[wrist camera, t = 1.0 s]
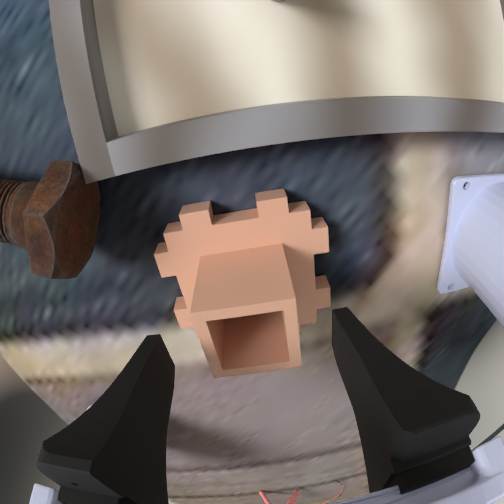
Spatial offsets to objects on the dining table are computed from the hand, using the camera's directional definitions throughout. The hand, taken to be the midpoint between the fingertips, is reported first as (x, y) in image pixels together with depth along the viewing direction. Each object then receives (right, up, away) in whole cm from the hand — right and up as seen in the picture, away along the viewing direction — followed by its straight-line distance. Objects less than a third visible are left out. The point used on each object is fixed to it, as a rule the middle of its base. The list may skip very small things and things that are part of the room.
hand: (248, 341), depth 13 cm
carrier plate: (+3, +20, -5) cm, 21 cm away
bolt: (-15, +8, +2) cm, 17 cm away
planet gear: (0, +3, +5) cm, 5 cm away
